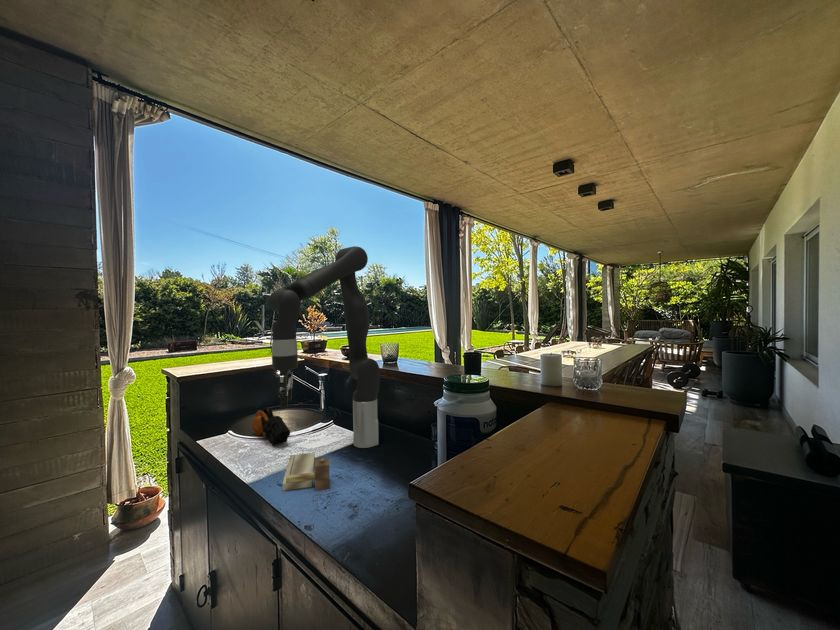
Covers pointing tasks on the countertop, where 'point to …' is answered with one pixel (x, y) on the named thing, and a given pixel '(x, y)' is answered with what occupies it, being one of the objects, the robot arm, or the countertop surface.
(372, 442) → the robot arm
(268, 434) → the tool
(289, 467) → the board
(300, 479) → the gauge
